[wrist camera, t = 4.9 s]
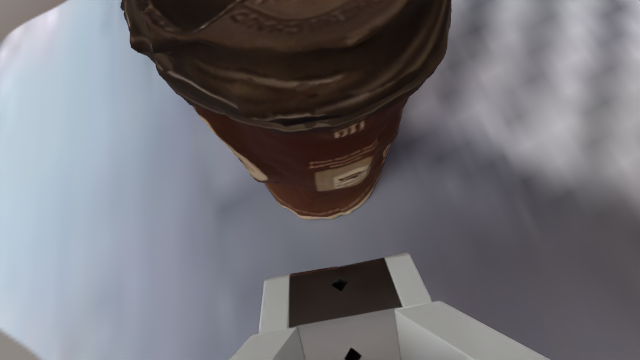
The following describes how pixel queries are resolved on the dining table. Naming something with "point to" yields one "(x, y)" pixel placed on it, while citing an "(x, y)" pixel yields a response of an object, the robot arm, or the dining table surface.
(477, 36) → the dining table surface
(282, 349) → the robot arm
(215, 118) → the coffee cup
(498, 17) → the dining table surface
